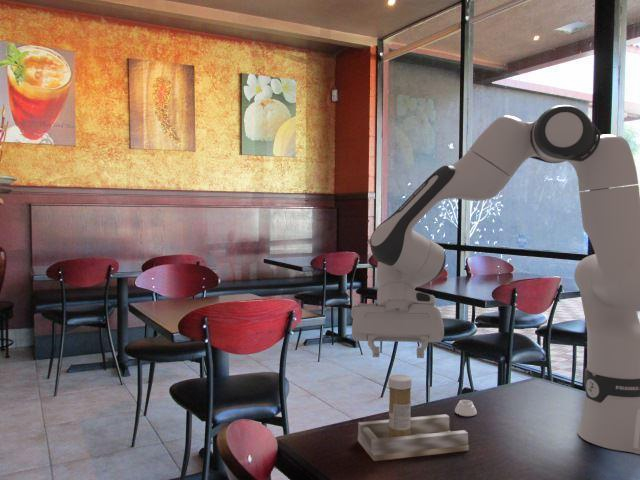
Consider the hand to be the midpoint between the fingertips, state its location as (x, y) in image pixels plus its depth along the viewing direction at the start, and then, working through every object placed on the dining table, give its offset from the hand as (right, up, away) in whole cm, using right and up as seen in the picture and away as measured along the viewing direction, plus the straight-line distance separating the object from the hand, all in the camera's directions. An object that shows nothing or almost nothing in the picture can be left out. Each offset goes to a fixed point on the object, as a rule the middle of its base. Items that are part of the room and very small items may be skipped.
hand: (398, 356), depth 120 cm
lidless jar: (+18, -17, +14) cm, 28 cm away
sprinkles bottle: (-1, -16, -6) cm, 18 cm away
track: (+2, -17, -5) cm, 18 cm away
